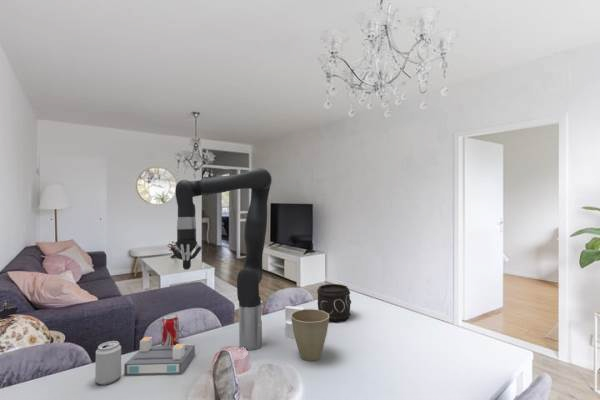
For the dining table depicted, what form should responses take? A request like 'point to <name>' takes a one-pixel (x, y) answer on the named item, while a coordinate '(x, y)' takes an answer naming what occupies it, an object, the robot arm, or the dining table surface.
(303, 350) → the plant pot
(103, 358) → the can
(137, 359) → the console
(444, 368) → the dining table surface
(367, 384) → the dining table surface
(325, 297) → the dark brown cylinder
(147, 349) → the slider
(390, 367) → the dining table surface
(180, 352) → the slider
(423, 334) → the dining table surface
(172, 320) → the soda can
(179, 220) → the robot arm
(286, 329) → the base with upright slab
